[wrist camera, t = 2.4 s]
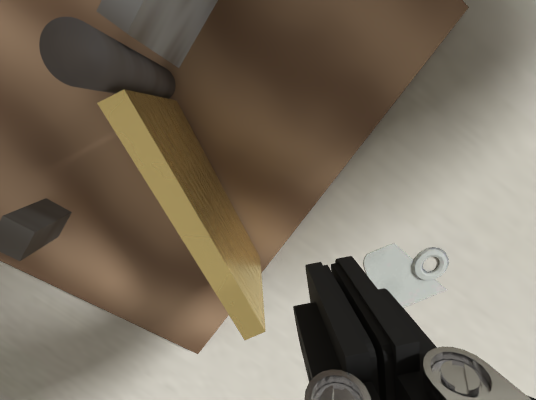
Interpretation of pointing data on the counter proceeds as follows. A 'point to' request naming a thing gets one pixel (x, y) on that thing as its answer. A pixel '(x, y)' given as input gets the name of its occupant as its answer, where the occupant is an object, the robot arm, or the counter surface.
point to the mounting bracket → (405, 273)
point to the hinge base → (200, 120)
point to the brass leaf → (191, 200)
